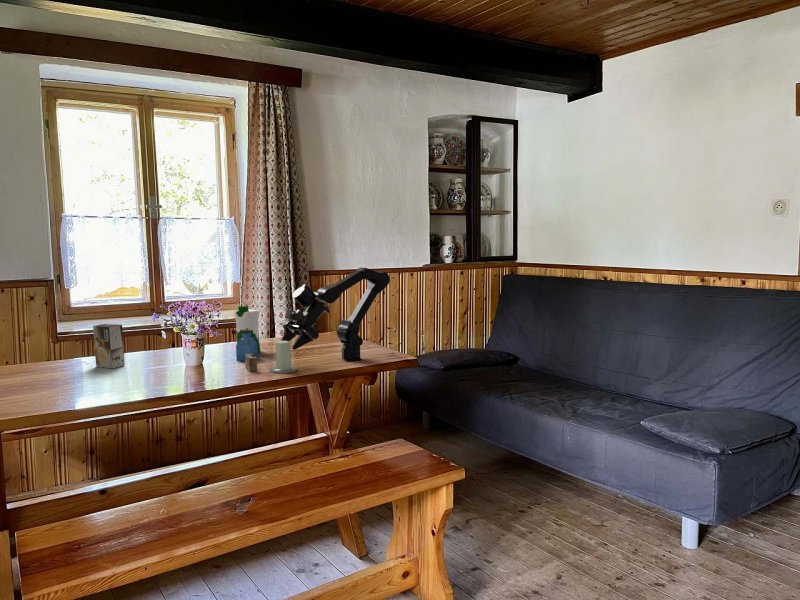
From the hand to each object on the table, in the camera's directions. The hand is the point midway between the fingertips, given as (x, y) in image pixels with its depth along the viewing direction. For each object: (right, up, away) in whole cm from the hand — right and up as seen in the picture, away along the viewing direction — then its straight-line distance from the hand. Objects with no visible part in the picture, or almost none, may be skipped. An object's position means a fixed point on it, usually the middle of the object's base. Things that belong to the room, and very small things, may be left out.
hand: (286, 347), depth 226 cm
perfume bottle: (-19, -7, +19) cm, 28 cm away
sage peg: (-1, -8, 0) cm, 8 cm away
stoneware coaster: (-1, -8, 0) cm, 8 cm away
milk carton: (-22, -5, +33) cm, 40 cm away
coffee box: (-69, -8, +8) cm, 70 cm away
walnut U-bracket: (-14, -8, +2) cm, 16 cm away
